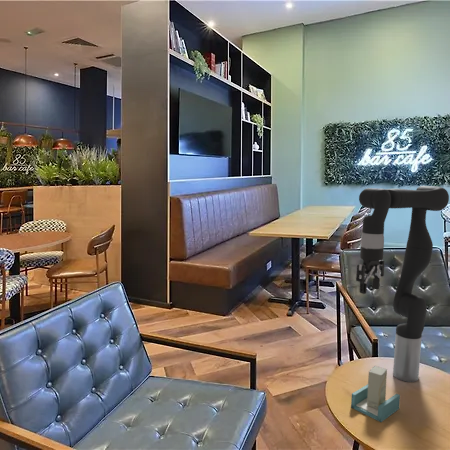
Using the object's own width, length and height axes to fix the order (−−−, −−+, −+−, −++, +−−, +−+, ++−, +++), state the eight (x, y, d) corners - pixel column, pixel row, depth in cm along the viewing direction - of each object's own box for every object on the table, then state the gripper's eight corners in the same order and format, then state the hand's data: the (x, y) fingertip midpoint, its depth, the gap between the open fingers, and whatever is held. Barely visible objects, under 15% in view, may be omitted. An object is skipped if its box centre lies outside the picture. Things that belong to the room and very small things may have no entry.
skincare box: (379, 410, 138) (381, 375, 137) (366, 405, 141) (368, 371, 139) (385, 402, 143) (387, 368, 141) (372, 398, 146) (374, 365, 144)
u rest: (369, 395, 150) (370, 382, 149) (399, 408, 142) (400, 395, 141) (350, 407, 142) (351, 393, 141) (381, 422, 134) (381, 407, 133)
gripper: (373, 242, 152) (370, 285, 154) (351, 246, 143) (348, 292, 145) (392, 245, 147) (389, 290, 149) (371, 249, 137) (368, 297, 139)
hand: (369, 291), depth 147 cm, fingers open, 8 cm apart
